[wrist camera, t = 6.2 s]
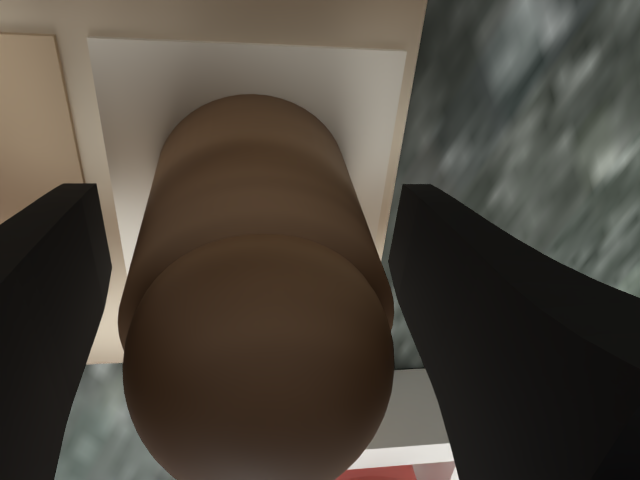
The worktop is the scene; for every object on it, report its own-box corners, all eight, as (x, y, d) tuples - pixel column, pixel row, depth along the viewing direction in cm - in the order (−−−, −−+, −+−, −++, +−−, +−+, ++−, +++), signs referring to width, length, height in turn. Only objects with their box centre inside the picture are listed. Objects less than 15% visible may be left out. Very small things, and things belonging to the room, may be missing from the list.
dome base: (420, 488, 23) (442, 560, 21) (239, 505, 22) (240, 582, 20) (461, 366, 19) (494, 439, 16) (236, 378, 18) (237, 459, 15)
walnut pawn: (336, 258, 14) (410, 551, 8) (165, 260, 13) (107, 583, 7) (355, 97, 11) (485, 349, 5) (146, 90, 11) (33, 369, 5)
